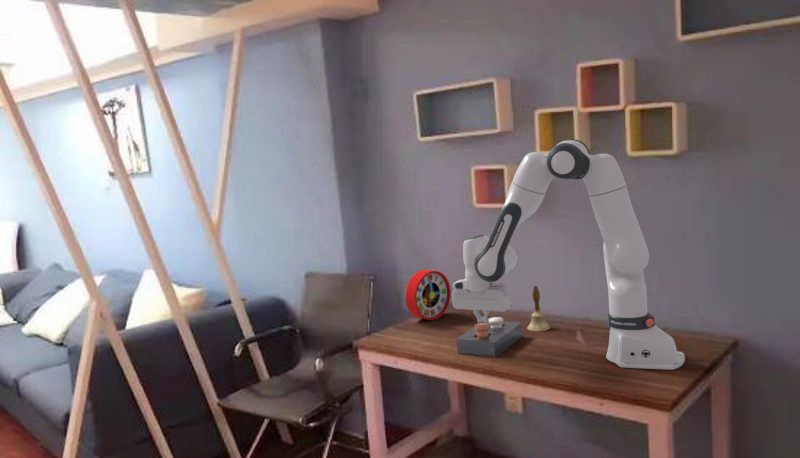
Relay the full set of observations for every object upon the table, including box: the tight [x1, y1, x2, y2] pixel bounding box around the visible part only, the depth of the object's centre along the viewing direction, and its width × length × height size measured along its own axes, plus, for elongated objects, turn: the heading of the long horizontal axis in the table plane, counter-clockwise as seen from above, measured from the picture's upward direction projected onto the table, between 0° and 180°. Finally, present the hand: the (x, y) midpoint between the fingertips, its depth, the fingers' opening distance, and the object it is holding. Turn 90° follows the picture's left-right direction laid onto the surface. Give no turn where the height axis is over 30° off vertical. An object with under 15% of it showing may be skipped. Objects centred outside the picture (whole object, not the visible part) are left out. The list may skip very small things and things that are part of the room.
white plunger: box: [487, 316, 504, 329], centre depth 228 cm, size 5×5×6 cm
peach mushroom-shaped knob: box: [473, 323, 490, 338], centre depth 219 cm, size 5×5×6 cm
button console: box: [455, 319, 523, 358], centre depth 224 cm, size 14×23×5 cm, turn 147°
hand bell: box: [527, 285, 551, 333], centre depth 236 cm, size 8×8×16 cm
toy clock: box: [404, 269, 452, 321], centre depth 263 cm, size 20×6×20 cm, turn 131°
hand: (482, 322), depth 218 cm, fingers closed
